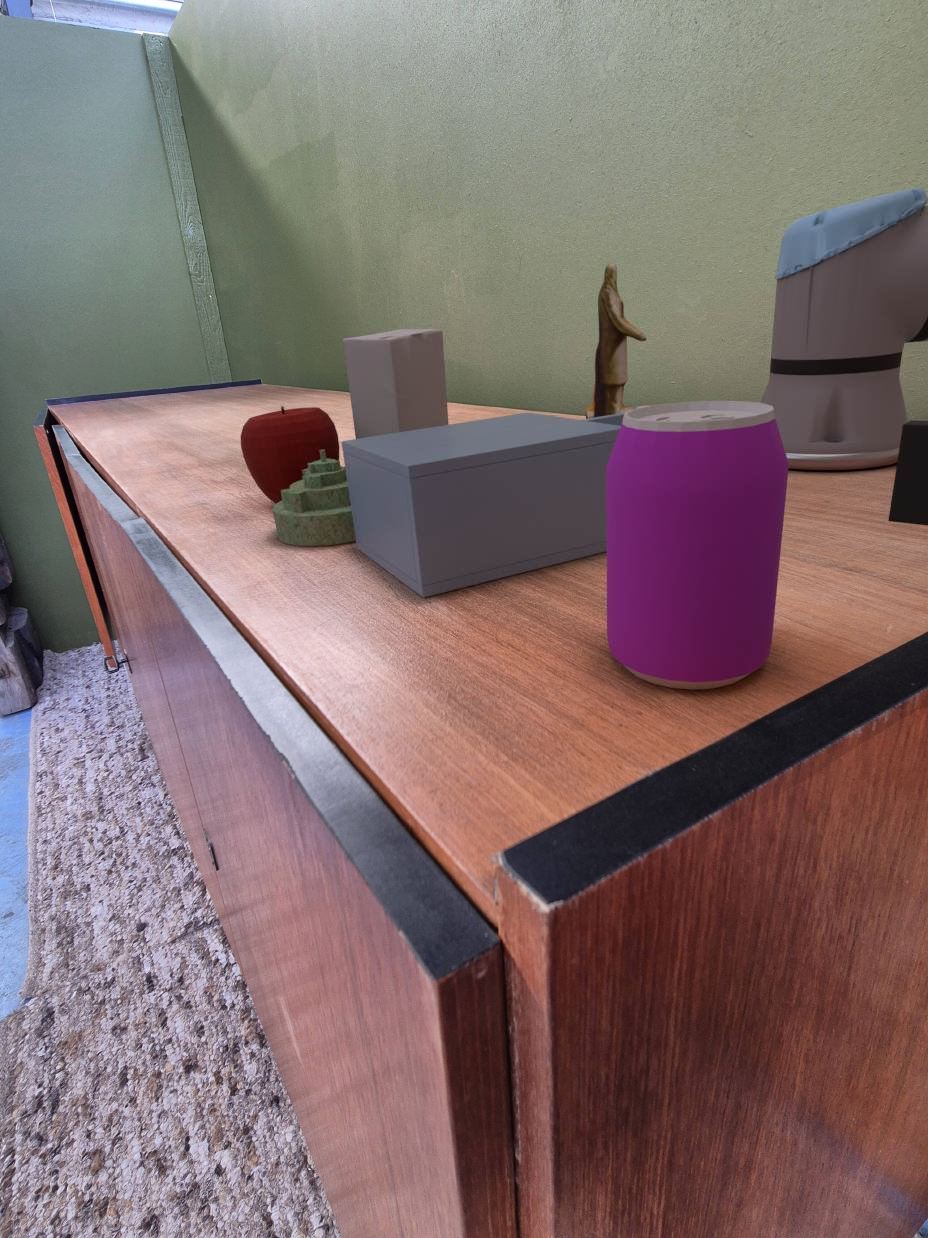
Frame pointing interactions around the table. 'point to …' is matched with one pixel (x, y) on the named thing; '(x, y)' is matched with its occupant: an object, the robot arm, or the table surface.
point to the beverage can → (694, 541)
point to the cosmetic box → (396, 381)
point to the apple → (286, 446)
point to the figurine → (611, 350)
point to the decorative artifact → (316, 507)
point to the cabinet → (480, 498)
